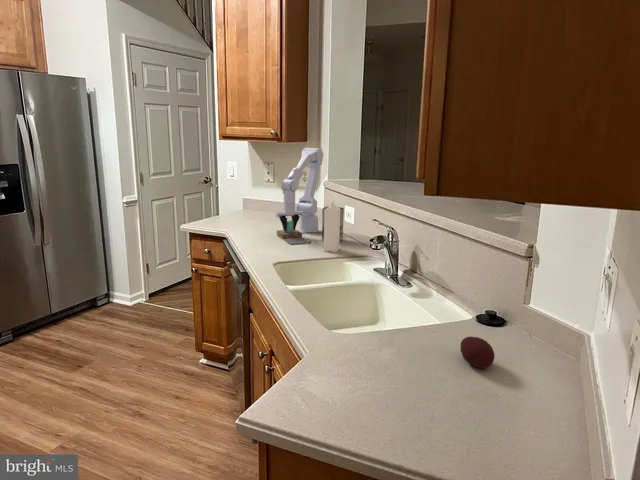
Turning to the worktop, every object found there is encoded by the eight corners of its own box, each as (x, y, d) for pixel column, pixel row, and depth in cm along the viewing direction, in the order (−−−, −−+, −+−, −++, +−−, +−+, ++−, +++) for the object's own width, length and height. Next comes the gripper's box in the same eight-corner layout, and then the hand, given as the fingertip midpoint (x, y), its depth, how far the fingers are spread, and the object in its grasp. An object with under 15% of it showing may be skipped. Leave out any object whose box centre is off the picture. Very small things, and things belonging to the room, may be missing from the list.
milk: (323, 251, 208) (324, 202, 202) (326, 248, 213) (327, 200, 208) (336, 252, 206) (337, 203, 201) (339, 249, 212) (340, 201, 207)
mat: (302, 238, 230) (302, 237, 230) (310, 243, 221) (310, 242, 221) (283, 240, 226) (283, 238, 226) (290, 244, 218) (290, 243, 217)
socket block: (295, 234, 240) (295, 229, 240) (302, 238, 231) (302, 233, 231) (276, 235, 236) (276, 230, 236) (283, 239, 227) (283, 234, 227)
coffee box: (343, 239, 230) (344, 207, 226) (338, 242, 225) (339, 209, 221) (326, 237, 234) (327, 205, 230) (321, 240, 228) (322, 207, 224)
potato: (471, 375, 104) (474, 350, 103) (451, 354, 114) (454, 331, 113) (501, 372, 106) (504, 348, 104) (479, 352, 115) (481, 329, 114)
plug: (291, 235, 236) (291, 220, 235) (294, 237, 233) (294, 221, 231) (284, 236, 235) (283, 220, 233) (286, 238, 231) (286, 222, 229)
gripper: (299, 201, 237) (298, 227, 240) (272, 203, 230) (272, 229, 233) (305, 203, 231) (304, 230, 234) (278, 205, 224) (278, 232, 227)
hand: (289, 230), depth 233 cm, fingers closed on plug, 4 cm apart
